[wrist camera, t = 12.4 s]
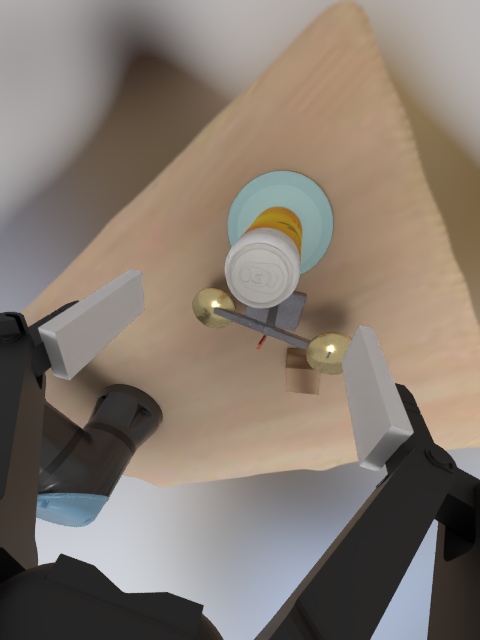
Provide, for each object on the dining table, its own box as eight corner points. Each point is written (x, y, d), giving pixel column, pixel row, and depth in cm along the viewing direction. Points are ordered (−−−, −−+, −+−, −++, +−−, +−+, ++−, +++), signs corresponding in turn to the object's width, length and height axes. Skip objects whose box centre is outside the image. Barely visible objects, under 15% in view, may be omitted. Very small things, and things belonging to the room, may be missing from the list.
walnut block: (287, 370, 46) (285, 391, 42) (287, 347, 43) (285, 367, 39) (317, 372, 44) (318, 394, 40) (319, 349, 42) (320, 370, 38)
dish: (224, 264, 38) (221, 267, 37) (237, 160, 30) (235, 160, 29) (313, 285, 36) (313, 289, 35) (349, 182, 29) (351, 183, 28)
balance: (203, 307, 42) (181, 339, 35) (206, 270, 39) (183, 296, 31) (338, 342, 40) (345, 383, 33) (355, 306, 37) (367, 343, 29)
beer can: (296, 259, 34) (289, 319, 21) (250, 251, 34) (218, 304, 22) (308, 209, 30) (308, 246, 18) (257, 201, 31) (223, 231, 19)
